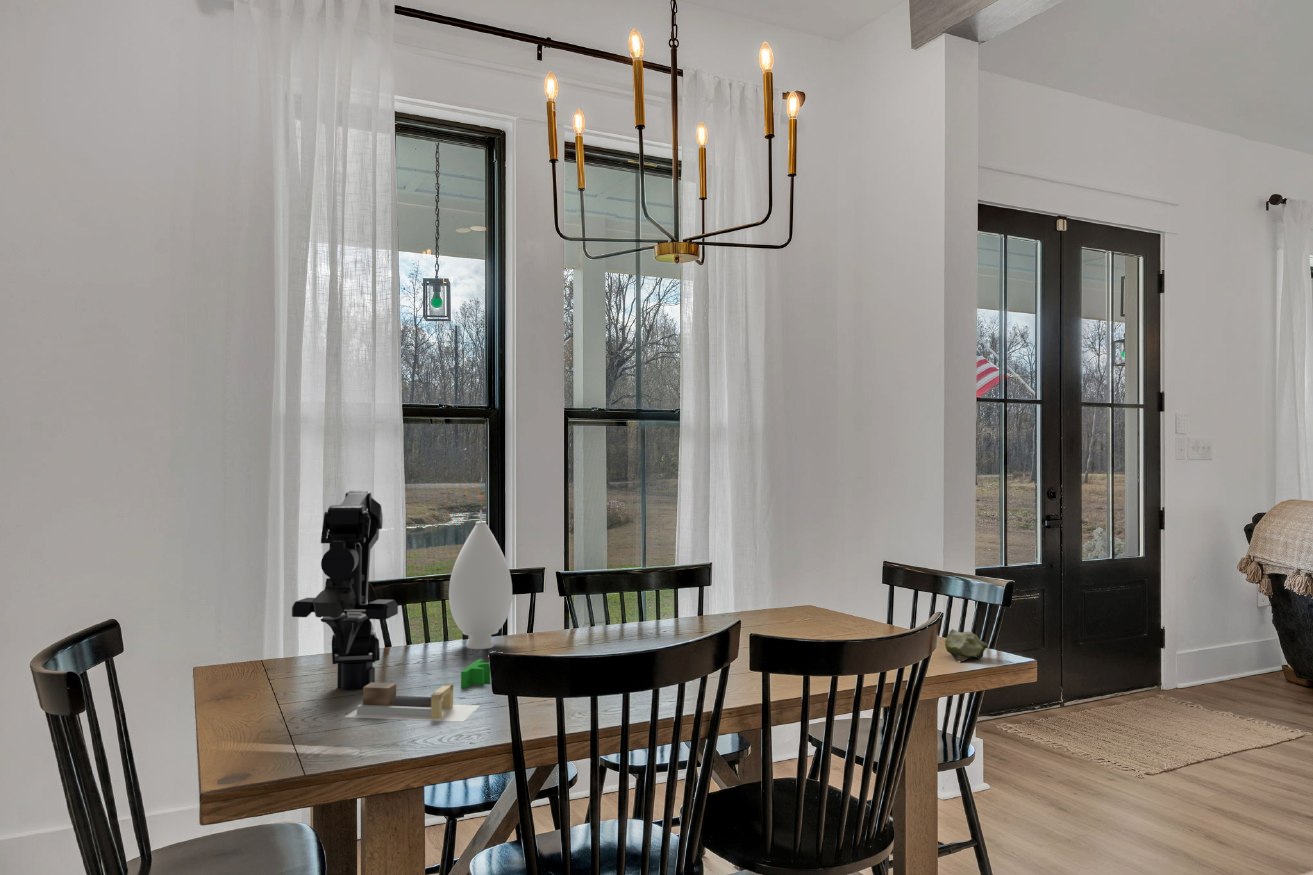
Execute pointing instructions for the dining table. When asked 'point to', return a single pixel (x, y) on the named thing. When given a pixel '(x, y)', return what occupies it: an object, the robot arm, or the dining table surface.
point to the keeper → (379, 694)
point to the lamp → (480, 588)
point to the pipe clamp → (476, 674)
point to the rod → (412, 701)
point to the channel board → (420, 709)
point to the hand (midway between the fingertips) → (344, 653)
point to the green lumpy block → (964, 645)
